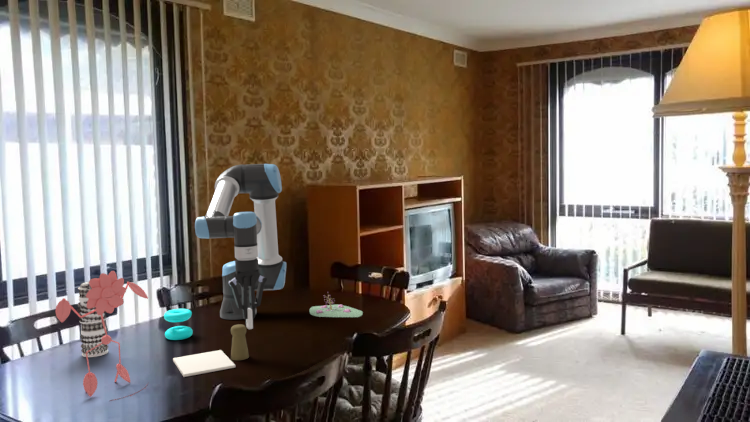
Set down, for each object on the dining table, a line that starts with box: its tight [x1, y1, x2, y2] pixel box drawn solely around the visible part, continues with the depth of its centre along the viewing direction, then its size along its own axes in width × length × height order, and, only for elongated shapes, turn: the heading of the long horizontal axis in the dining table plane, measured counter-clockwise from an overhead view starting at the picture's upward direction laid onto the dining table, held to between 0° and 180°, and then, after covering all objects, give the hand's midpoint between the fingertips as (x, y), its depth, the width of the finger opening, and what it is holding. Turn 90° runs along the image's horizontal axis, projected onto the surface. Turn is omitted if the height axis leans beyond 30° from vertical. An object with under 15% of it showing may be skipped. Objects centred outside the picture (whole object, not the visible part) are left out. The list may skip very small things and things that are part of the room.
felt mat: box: [172, 349, 236, 378], centre depth 199 cm, size 18×16×1 cm
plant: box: [309, 291, 364, 318], centre depth 262 cm, size 25×21×9 cm
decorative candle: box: [76, 281, 109, 358], centre depth 212 cm, size 9×9×25 cm
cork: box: [230, 323, 250, 361], centre depth 204 cm, size 6×6×11 cm
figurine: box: [55, 270, 149, 402], centre depth 175 cm, size 15×26×35 cm, turn 143°
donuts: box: [163, 308, 194, 341], centre depth 230 cm, size 10×10×10 cm
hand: (249, 327), depth 205 cm, fingers closed
